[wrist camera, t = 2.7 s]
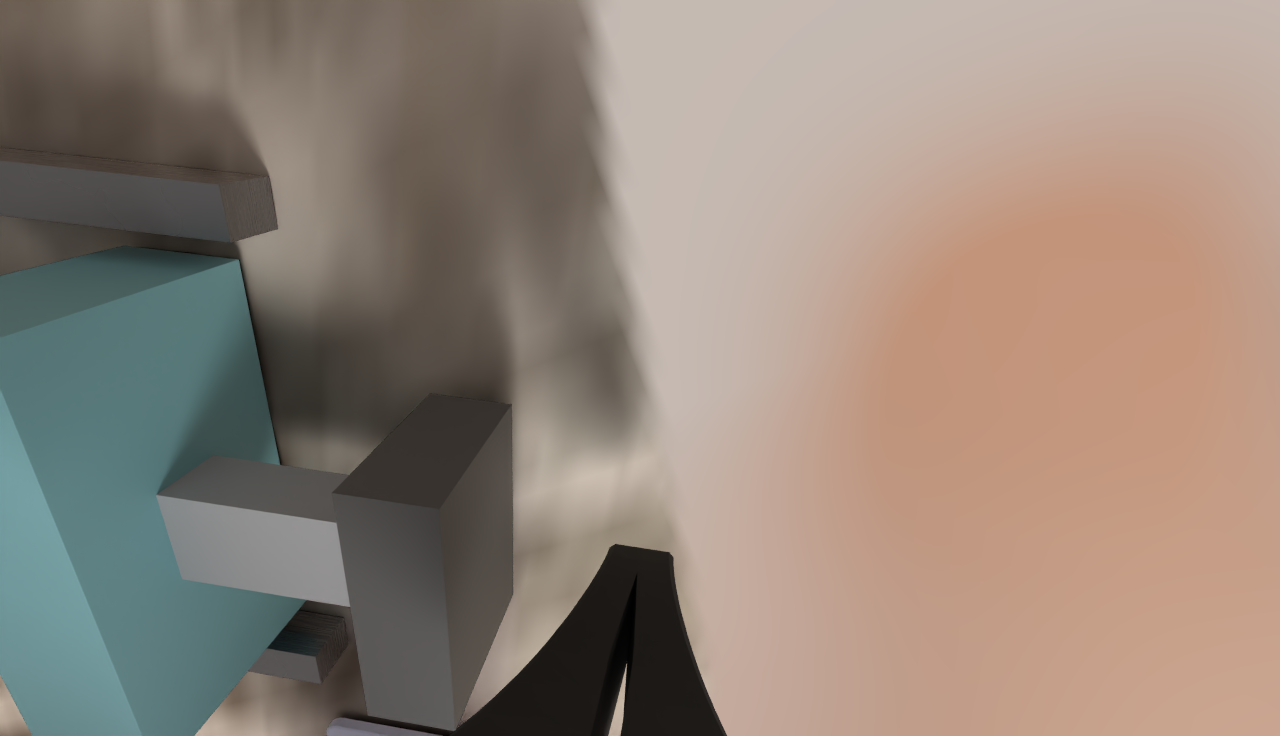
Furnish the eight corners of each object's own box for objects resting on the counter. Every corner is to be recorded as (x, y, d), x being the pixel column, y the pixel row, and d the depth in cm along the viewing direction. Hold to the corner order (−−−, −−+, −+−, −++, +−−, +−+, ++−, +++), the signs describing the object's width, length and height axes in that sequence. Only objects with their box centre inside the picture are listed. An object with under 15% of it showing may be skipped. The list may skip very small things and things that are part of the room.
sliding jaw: (521, 635, 18) (447, 833, 13) (219, 584, 19) (42, 754, 14) (521, 293, 14) (409, 401, 9) (123, 245, 15) (-187, 320, 10)
